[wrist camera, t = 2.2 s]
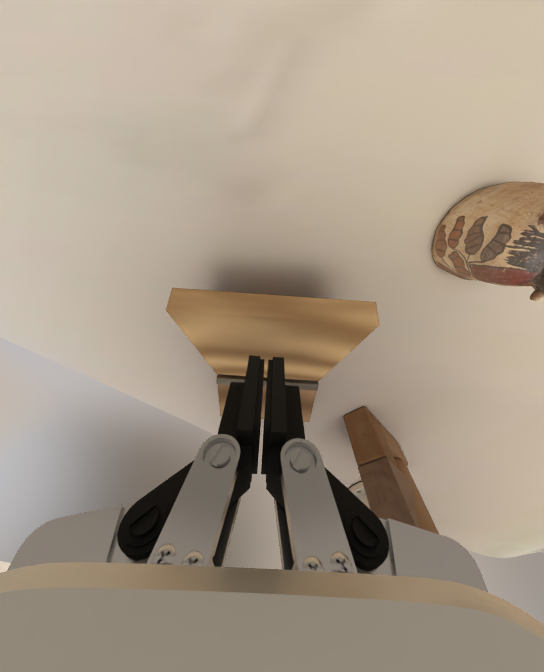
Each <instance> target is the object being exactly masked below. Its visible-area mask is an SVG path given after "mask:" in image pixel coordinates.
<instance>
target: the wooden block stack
mask: <svg viewBox="0 0 544 672" xmlns="http://www.w3.org/2000/svg"><path fill="white" fill-rule="evenodd" d="M344 421H345V424H346V428H347V431H348V434H349V438H350V441H351V445H352V448H353V451H354V455H355V458H356V462H357V465H358V466H359V467H358V469H359V472H360V476H361V479H362V483H363V486H364V489H365V493H366V496H367V500H368V503H369V506H370V510H371V511H372V512H374V513H375V515H376V516H377V517H379V518H382V519H385V520H387V519H388V518H390V519H393V520H396V521H399V522H402V523H405V524H408V525H411V526H414V527H418V528H421V529H424V530H427V531H430V532H433V533H436V534H439V533H438V531H437V529H436V527H435V525H434V523H433V520H432V518H431V516H430V514H429V512H428V510H427V508H426V506H425V504H424V502H423V499H422V497H421V495H420V493H419V491H418V489H417V487H416V485H415V483H414V481H413V479H412V476H411V474H410V472H409V470H408V468H407V465H408V462H407V460H406V458H405V456H404V454H403V452H402V450H401V448H400V446H399V444H398V442H397V441H396V440H395V439H394V438H393V437H392V436H391V435H390V433H389V432H388V431H387V430H386V429H385V428H384V427H383V426H382V425H381V423H380V422H379V421H378V420H377V419H376V418H375V417H374V416H373V414H372V413H371V412H370V411H369V410H368V409H367V408H366V407H361V408H359V409H357V410H355V411H353V412H351V413H349V414H347V415H345V416H344Z"/></svg>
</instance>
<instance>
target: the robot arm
mask: <svg viewBox="0 0 544 672" xmlns="http://www.w3.org/2000/svg"><path fill="white" fill-rule="evenodd" d="M264 362H265V359H260V356H253V355H249V359H248V365H247V371H246V377H245V382H231V383H230V386H229V390H228V394H227V398H226V402H225V406H224V411H223V415H222V419H221V423H220V427H219V431H218V435H214V436H212V437H210V438H208V439H207V440H206V441H205V442H204V443H203V445H202V446H201V448H200V449H199V451H198V454H197V456H196V458H195V460H194V461H192V462H191V463H190V464H188V465H187V466H185V467H184V468H183V469H181V470H180V471H179V472H177V473H176V474H174V475H173V476H172V477H170V478H169V479H168V480H166V481H165V482H163V483H162V484H161V485H159V486H158V487H157V488H155V489H154V490H152V491H151V492H150V493H148V494H147V495H145V496H144V497H143V498H141V499H140V500H139V501H137V502H136V503H135V504H134V505H131V506H127V507H123V505H119V506H114V507H109V508H105V509H100V510H95V511H90V512H85V513H80V514H76V515H71V516H66V517H62V518H57V519H54V520H51V521H49V522H46V523H45V524H43V525H42V526H40V527H39V528H37V529H36V530H35V531H34V532H33V533H32V534H31V535H30V536H29V537H28V538H27V539H26V540H25V541H24V543H23V544H22V545H21V547H20V548H19V550H18V551H17V553H16V555H15V557H14V559H13V561H12V563H11V565H10V566H9V568H8V570H7V571H6V572H3V573H0V672H544V625H543V624H542V623H541V622H539V621H538V620H536V619H535V618H533V617H532V616H530V615H529V614H528V613H526V612H525V611H523V610H521V609H519V608H518V607H516V606H514V605H513V604H511V603H509V602H507V601H506V600H504V599H501V598H499V597H497V596H494V595H493V594H490V593H488V591H487V588H486V586H485V583H484V580H483V577H482V575H481V572H480V570H479V568H478V566H477V564H476V562H475V560H474V559H473V558H472V556H471V555H470V554H469V553H468V551H467V550H466V549H465V548H464V547H463V546H461V545H460V544H459V543H458V542H456V541H454V540H452V539H450V538H448V537H445V536H442V535H439V534H436V533H433V532H430V531H427V530H424V529H421V528H418V527H414V526H411V525H408V524H405V523H402V522H399V521H396V520H393V519H390V518H388V519H387V520H385V519H382V518H379V517H377V516H376V515H375V513H374V512H372V511H371V510H370V506H369V503H368V500H367V496H366V493H365V489H364V486H363V483H362V482H360V483H357V484H355V485H354V486H352V487H351V488H350V489H348V488H347V487H345V486H344V485H343V484H342V483H341V482H340V481H339V480H338V479H337V478H336V477H335V476H334V475H333V474H331V473H330V472H329V471H328V470H327V469H326V468H325V467H324V464H323V461H322V458H321V455H320V453H319V451H318V449H317V448H316V447H315V445H314V444H312V443H311V442H309V441H308V440H305V434H304V425H303V417H302V408H301V399H300V390H299V386H294V385H285V367H284V357H273V360H269V359H268V370H267V385H266V399H265V416H264V434H263V451H262V470H261V474H266V483H267V487H266V489H267V490H268V491H269V492H270V494H271V495H272V496H273V497H274V504H275V512H276V521H277V529H278V537H279V546H280V554H281V563H282V570H278V569H255V568H234V567H224V563H225V560H226V556H227V552H228V547H229V544H230V540H231V536H232V532H233V528H234V524H235V520H236V516H237V512H238V508H239V504H240V500H241V496H242V495H243V494H244V493H245V492H246V491H247V490H248V489H249V488H250V482H251V478H252V474H257V467H258V453H259V439H260V425H261V411H262V396H263V379H264Z"/></svg>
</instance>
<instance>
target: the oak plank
mask: <svg viewBox="0 0 544 672" xmlns="http://www.w3.org/2000/svg"><path fill="white" fill-rule="evenodd" d="M166 311H167V312H168V313H169V315H170V316H171V317H172V318H173V320H174V321H175V322H176V323H177V325H178V326H179V327H180V328H181V330H182V331H183V332H184V333H185V335H186V336H187V337H188V338H189V340H190V341H191V342H192V343H193V345H194V346H195V347H196V348H197V350H198V351H199V352H200V353H201V355H202V356H203V357H204V359H205V360H206V361H207V362H208V364H209V365H210V366H211V367H212V369H213V370H214V371H215V372H216V374H223V375H238V376H246V371H247V365H248V359H249V355H253V356H260V359H265V362H264V377H267V370H268V359H269V360H273V357H284V367H285V379H298V380H313V381H319V380H320V379H321V378H322V377H323V376H324V375H326V374H327V373H328V372H329V371H330V370H331V369H332V368H333V367H334V366H335V365H336V364H337V363H339V362H340V361H341V360H342V359H343V358H344V357H345V356H346V355H347V354H348V353H349V352H351V351H352V350H353V349H354V348H355V347H356V346H357V345H358V344H359V343H360V342H361V341H363V340H364V339H365V338H366V337H367V336H368V335H369V334H370V333H371V332H372V331H373V330H374V329H376V328H377V327H378V326H379V319H378V312H377V306H376V302H366V301H351V300H337V299H323V298H309V297H295V296H281V295H267V294H252V293H238V292H224V291H210V290H196V289H182V288H172V291H171V294H170V298H169V301H168V305H167V309H166Z"/></svg>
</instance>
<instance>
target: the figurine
mask: <svg viewBox="0 0 544 672" xmlns="http://www.w3.org/2000/svg"><path fill="white" fill-rule="evenodd" d="M432 254H433V258H434V261H435V263H436V264H437V265H438V266H439V267H440V268H442V269H444V270H446V271H447V272H449V273H451V274H453V275H455V276H457V277H459V278H462V279H466V280H478V281H483V282H487V283H492V284H497V285H503V286H532V287H533V288H534V289H535V291H534V292H533V293H532V294H531V296H530V299H531V300H535V301H540V300H542V299H544V184H543V183H535V182H508V183H503V184H498V185H494V186H491V187H487V188H483V189H480V190H478V191H476V192H474V193H473V194H471V195H469V196H467V197H466V198H464V199H463V200H462V201H460V202H459V203H458V204H457V205H456V206H454V207H453V208H452V209H451V210H450V211H449V213H448V214H447V215H446V217H445V218H444V219H443V220H442V222H441V223H440V225H439V227H438V228H437V230H436V233H435V238H434V242H433V248H432Z"/></svg>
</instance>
